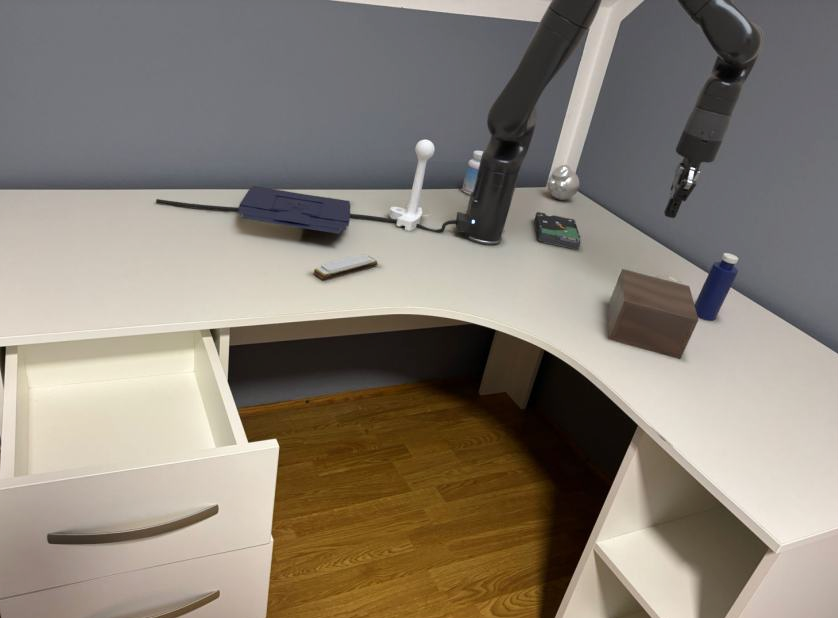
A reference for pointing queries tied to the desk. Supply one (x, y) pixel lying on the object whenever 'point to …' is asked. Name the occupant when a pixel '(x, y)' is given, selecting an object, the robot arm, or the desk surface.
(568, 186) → the silver rounded lump
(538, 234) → the disk drive
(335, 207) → the laptop stand
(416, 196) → the joystick
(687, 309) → the cabinet
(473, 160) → the pill bottle
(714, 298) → the bottle
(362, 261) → the harmonica
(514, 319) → the desk surface
